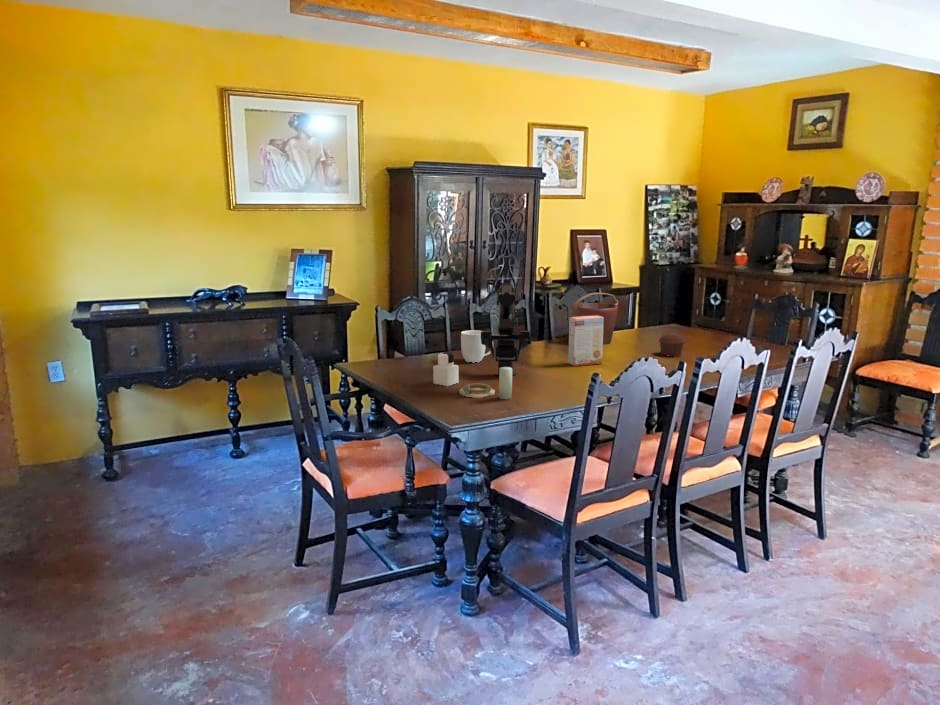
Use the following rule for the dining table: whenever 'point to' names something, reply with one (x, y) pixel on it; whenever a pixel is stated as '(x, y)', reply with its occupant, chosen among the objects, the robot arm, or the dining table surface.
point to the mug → (472, 346)
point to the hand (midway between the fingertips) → (505, 357)
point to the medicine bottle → (446, 370)
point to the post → (505, 383)
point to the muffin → (671, 344)
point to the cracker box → (585, 340)
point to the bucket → (599, 313)
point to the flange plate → (477, 390)
